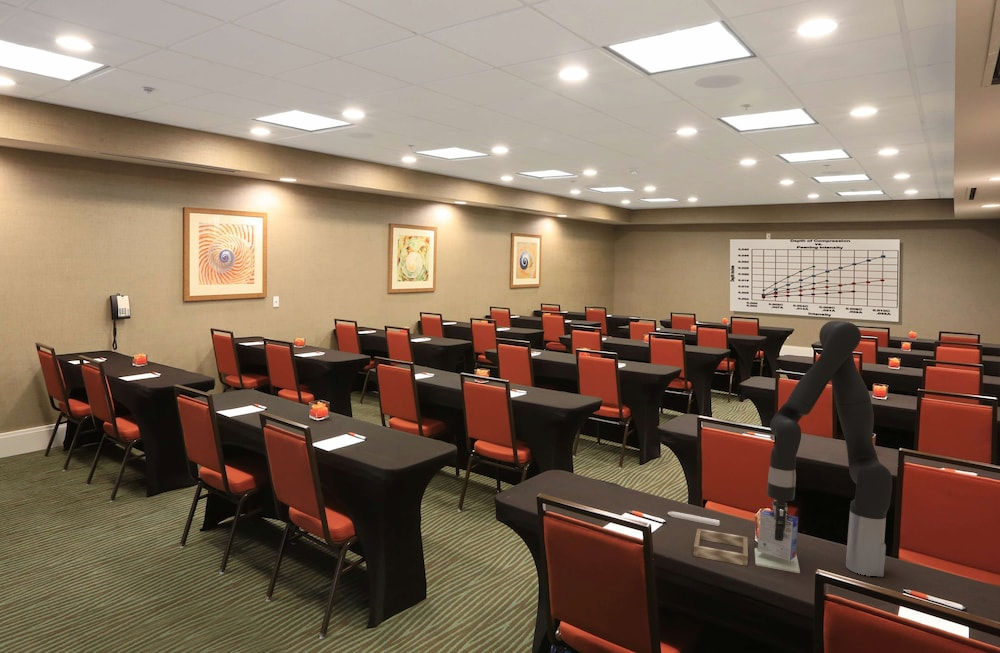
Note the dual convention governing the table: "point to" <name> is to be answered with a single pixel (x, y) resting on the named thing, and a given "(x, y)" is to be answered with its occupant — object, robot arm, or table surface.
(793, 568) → the sage pad
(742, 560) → the maple sleeve
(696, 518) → the marker
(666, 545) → the table surface
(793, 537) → the ink cartridge box
